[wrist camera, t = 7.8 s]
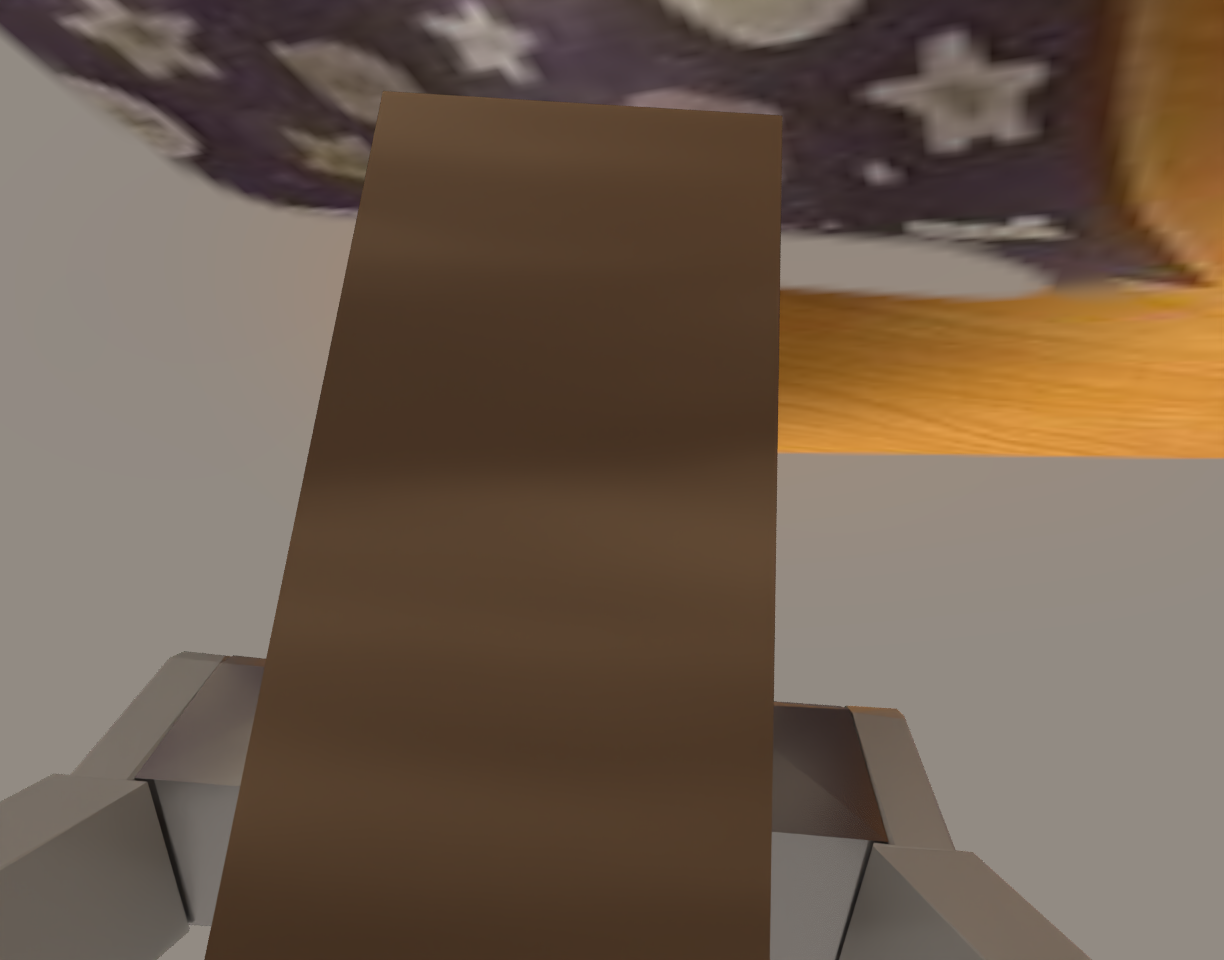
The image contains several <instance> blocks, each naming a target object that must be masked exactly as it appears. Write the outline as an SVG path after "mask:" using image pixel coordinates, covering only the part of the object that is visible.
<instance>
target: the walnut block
mask: <svg viewBox="0 0 1224 960" xmlns="http://www.w3.org/2000/svg"><path fill="white" fill-rule="evenodd" d="M781 178H782V116H780V115H764V114H747V113H731V112H715V111H698V110H682V109H666V108H650V107H633V106H617V105H601V104H585V103H568V102H552V101H536V100H520V99H503V98H487V97H471V96H454V95H438V94H422V93H406V92H389V91H383V93H382V98H381V103H380V108H379V113H378V118H377V123H376V127H375V132H374V137H373V142H372V147H371V152H370V157H369V161H368V166H367V171H366V176H365V181H364V186H363V191H362V196H361V200H360V205H359V210H358V215H357V220H356V225H355V230H354V234H353V239H352V244H351V250H350V254H349V259H348V264H347V269H346V274H345V278H344V283H343V288H342V293H341V298H340V303H339V307H338V312H337V317H336V322H335V327H334V332H333V337H332V342H331V346H330V351H329V357H328V361H327V366H326V371H325V376H324V380H323V385H322V390H321V395H320V400H319V405H318V410H317V415H316V419H315V424H314V429H313V434H312V439H311V444H310V449H309V454H308V458H307V463H306V468H305V473H304V478H303V483H302V488H301V492H300V497H299V502H298V508H297V512H296V517H295V522H294V527H293V532H292V536H291V541H290V546H289V551H288V556H287V561H286V566H285V570H284V575H283V580H282V585H281V590H280V595H279V600H278V604H277V609H276V615H275V620H274V624H273V629H272V634H271V638H270V644H269V649H268V653H267V658H266V663H265V668H264V673H263V677H262V682H261V687H260V692H259V697H258V702H257V707H256V711H255V716H254V721H253V726H252V731H251V736H250V741H249V746H248V750H247V755H246V760H245V765H244V770H243V775H242V780H241V785H240V789H239V794H238V799H237V804H236V809H235V814H234V819H233V823H232V828H231V833H230V838H229V843H228V848H227V853H226V858H225V862H224V867H223V872H222V877H221V882H220V887H219V892H218V896H217V901H216V906H215V911H214V916H213V921H212V926H211V931H210V936H209V940H208V945H207V950H206V955H205V960H770V916H771V849H772V782H773V714H774V646H775V645H774V644H775V579H776V578H775V577H776V513H777V508H776V507H777V446H778V379H779V312H780V245H781Z"/></svg>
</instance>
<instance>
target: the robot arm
mask: <svg viewBox="0 0 1224 960" xmlns="http://www.w3.org/2000/svg"><path fill="white" fill-rule="evenodd" d="M265 663H266V659H262V658H253V657H244V656H232V657H230V656H224V655H214V654H206V653H196V652H187V651H184V652H181V653H179V654H177V655H175V656H173V657H171V658H169V659H168V660H167V661H166V662H165V664H164V665H163V666H162V667H161V668H160V669H159V671H158V672H157V673H156V674H155V675H154V677H153V678H152V679H151V680H150V681H149V682H148V684H147V685H146V686H145V687H144V688H143V690H142V691H141V692H140V693H139V694H138V695H137V697H136V698H135V699H134V700H133V701H132V702H131V704H130V705H129V706H128V707H127V708H126V709H125V711H124V712H123V713H122V714H121V715H120V717H119V718H118V719H117V720H116V721H115V722H114V724H113V725H112V726H111V727H110V728H109V730H108V731H107V732H106V733H105V735H103V737H102V738H101V739H100V740H99V741H98V742H97V744H96V745H95V746H94V747H93V748H92V750H91V751H90V752H89V753H88V754H87V756H86V757H85V758H84V759H83V760H82V761H81V763H80V764H79V765H78V766H77V767H76V768H75V770H74V771H73V772H72V773H71V774H70V775H65V774H64V775H63V774H52V775H50V776H48V777H46V778H44V779H42V780H41V781H39V782H37V783H35V784H33V785H31V786H29V787H27V788H25V789H23V790H21V791H20V792H18V793H16V794H14V795H12V796H10V797H8V798H6V799H4V800H2V801H1V802H0V960H157V959H158V958H159V957H160V956H162V955H163V954H164V953H165V952H166V951H167V950H168V949H169V948H171V947H172V946H173V945H174V944H175V943H176V942H177V941H179V940H180V939H181V938H182V937H183V936H184V935H185V934H186V933H188V932H189V929H190V928H189V925H200V926H212V921H213V916H214V911H215V906H216V901H217V896H218V892H219V887H220V882H221V877H222V872H223V867H224V862H225V858H226V853H227V848H228V843H229V838H230V833H231V828H232V823H233V819H234V814H235V809H236V804H237V799H238V794H239V789H240V785H241V780H242V775H243V770H244V765H245V760H246V755H247V750H248V746H249V741H250V736H251V731H252V726H253V721H254V716H255V711H256V707H257V702H258V697H259V692H260V687H261V682H262V677H263V673H264V668H265ZM770 960H1092V959H1091V958H1090V957H1088V956H1087V955H1086V954H1085V953H1084V952H1083V951H1082V950H1081V949H1079V948H1078V947H1077V946H1076V945H1075V944H1074V943H1073V942H1072V941H1071V940H1070V939H1068V938H1067V937H1066V936H1065V935H1064V934H1063V933H1062V932H1061V931H1059V929H1057V928H1056V927H1055V926H1054V925H1053V924H1052V923H1051V922H1050V921H1049V920H1047V919H1046V918H1045V917H1044V916H1043V915H1042V914H1040V912H1038V911H1037V910H1036V909H1035V908H1034V907H1033V906H1032V905H1031V904H1030V903H1029V902H1027V901H1026V900H1025V899H1024V898H1023V897H1022V896H1021V895H1019V893H1017V892H1016V891H1015V890H1014V889H1013V888H1012V887H1011V886H1010V885H1009V884H1008V883H1006V882H1005V881H1004V880H1003V879H1002V878H1001V877H1000V876H999V875H998V874H996V873H995V872H994V871H993V870H992V869H991V868H990V867H989V866H988V865H986V864H985V863H984V862H983V861H982V860H981V859H980V858H979V857H978V856H976V855H975V854H974V853H973V852H965V851H957V850H955V847H954V845H953V842H952V840H951V837H950V834H949V831H948V829H947V826H946V824H945V821H944V819H943V816H942V814H941V811H940V808H939V806H938V803H937V800H936V798H935V795H934V792H933V790H932V787H931V784H930V782H929V779H928V777H927V774H926V771H925V769H924V766H923V764H922V761H921V758H920V756H919V753H918V750H917V748H916V745H915V743H914V740H913V738H912V735H911V732H910V730H909V727H908V725H907V722H906V719H905V717H904V716H903V714H901V713H900V712H899V711H898V710H897V709H891V708H875V707H859V706H845V707H841V706H831V705H818V704H803V703H790V702H777V701H774V714H773V782H772V849H771V916H770Z"/></svg>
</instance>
